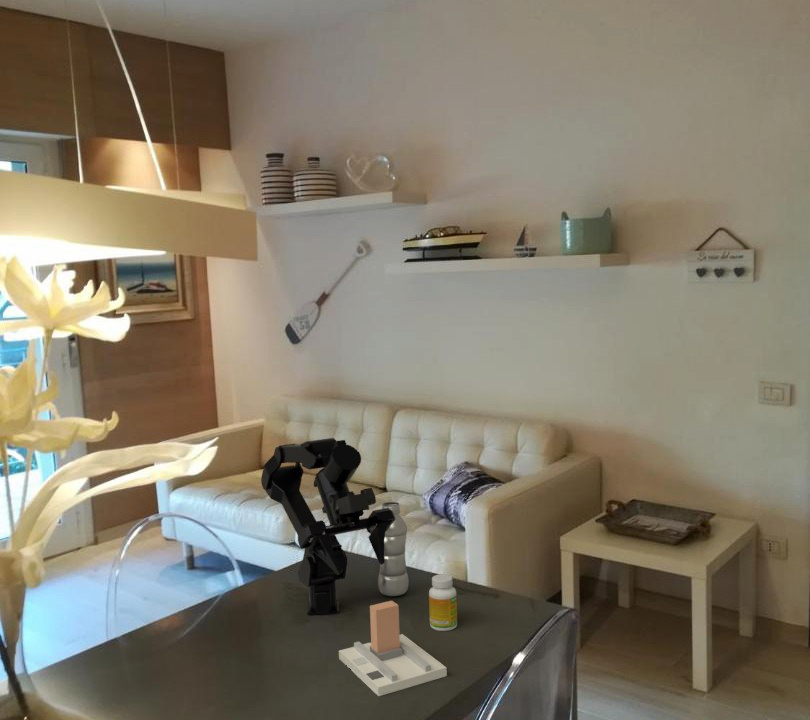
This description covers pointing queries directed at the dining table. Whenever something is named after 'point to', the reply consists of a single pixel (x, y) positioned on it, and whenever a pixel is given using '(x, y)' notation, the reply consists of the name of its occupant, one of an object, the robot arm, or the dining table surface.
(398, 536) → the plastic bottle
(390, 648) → the slide tab
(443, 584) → the supplement bottle
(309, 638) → the dining table surface
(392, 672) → the switch board
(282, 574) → the dining table surface
